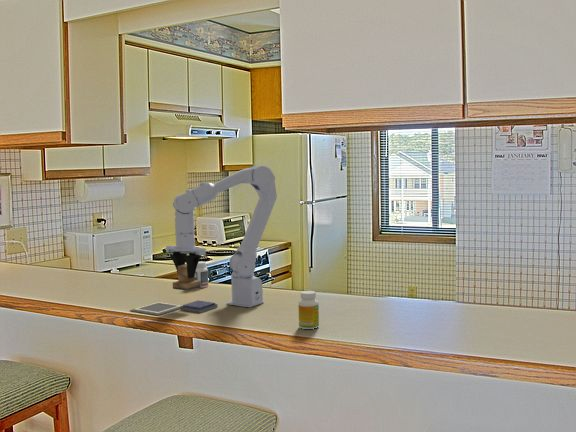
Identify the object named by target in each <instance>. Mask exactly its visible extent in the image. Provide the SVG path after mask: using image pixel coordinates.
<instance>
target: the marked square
mask: <svg viewBox="0 0 576 432" xmlns="http://www.w3.org/2000/svg"><path fill="white" fill-rule="evenodd" d="M182 306H183V305H179V304H174V303H166V302H161V301H159V302H158V301H157V302H154V303H150V304H147V305H144V306H140V307H136V308H133V309H130V310H129V311H130V312H133V313H139V314H140V313H141V314H145V315H146V314H147V315H151V316H157V317H158V316H163V315H165V314H169V313H171V312H174V311H175V312H176V311H179V310H181V307H182ZM178 309H179V310H178Z"/></svg>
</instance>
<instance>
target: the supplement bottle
mask: <svg viewBox="0 0 576 432" xmlns="http://www.w3.org/2000/svg"><path fill="white" fill-rule="evenodd" d="M316 295H317V294H316V291H314V290H303V291H301V292H300V298H301V299H300V300H298V328H299V329H301V328H302V329H301V330H304V329H313V328H316V327H318V326H319V327H320V321H319V320H320V318H319V317H320V316H319V313H320V312H319V308H320V307H319V301H318V299H316ZM319 327H318V328H319ZM313 330H314V329H313Z"/></svg>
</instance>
